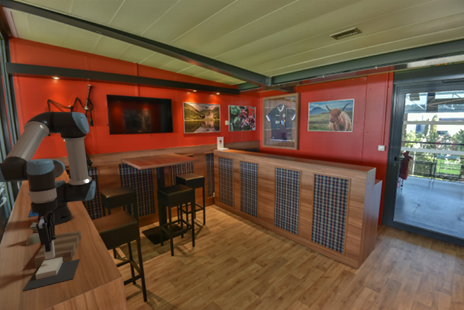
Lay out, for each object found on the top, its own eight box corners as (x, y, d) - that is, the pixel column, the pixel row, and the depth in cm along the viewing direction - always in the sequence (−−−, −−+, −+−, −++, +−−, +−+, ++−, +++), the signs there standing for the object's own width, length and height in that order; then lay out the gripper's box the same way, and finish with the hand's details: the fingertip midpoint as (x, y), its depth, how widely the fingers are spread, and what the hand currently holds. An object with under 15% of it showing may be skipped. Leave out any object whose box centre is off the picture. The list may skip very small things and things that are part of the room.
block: (44, 265, 86) (44, 260, 86) (62, 261, 89) (62, 256, 89) (36, 279, 78) (35, 274, 78) (56, 274, 81) (56, 270, 81)
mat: (37, 268, 85) (37, 267, 85) (79, 259, 91) (79, 258, 91) (23, 291, 73) (23, 290, 73) (73, 279, 79) (72, 278, 79)
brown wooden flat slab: (51, 243, 103) (50, 235, 102) (81, 237, 108) (80, 230, 108) (35, 267, 85) (34, 258, 85) (71, 260, 90) (71, 251, 90)
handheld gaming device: (28, 216, 131) (31, 208, 142) (28, 217, 131) (31, 210, 143) (46, 213, 136) (47, 206, 148) (46, 214, 136) (47, 207, 148)
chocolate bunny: (47, 240, 106) (45, 221, 104) (26, 246, 100) (23, 226, 98) (45, 236, 109) (43, 217, 108) (24, 242, 103) (21, 223, 102)
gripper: (37, 196, 85) (43, 251, 88) (23, 207, 74) (31, 270, 77) (61, 193, 88) (66, 246, 91) (51, 204, 77) (57, 264, 80)
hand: (50, 257), depth 84 cm, fingers closed
